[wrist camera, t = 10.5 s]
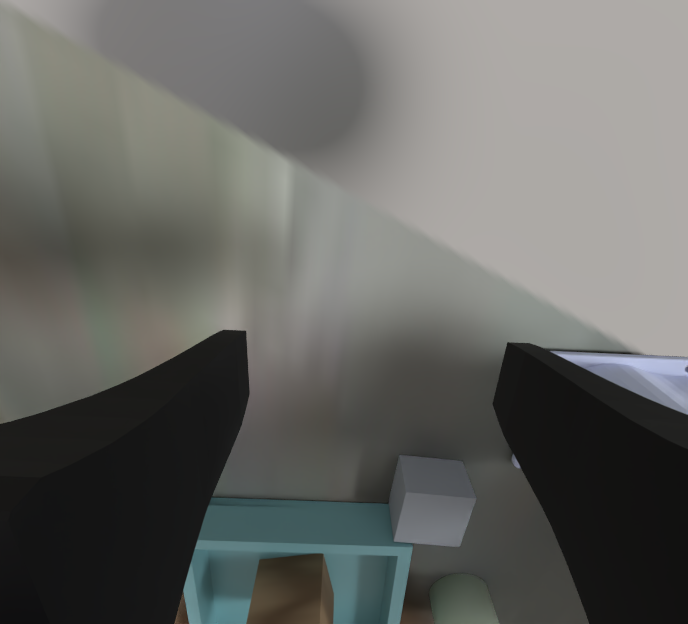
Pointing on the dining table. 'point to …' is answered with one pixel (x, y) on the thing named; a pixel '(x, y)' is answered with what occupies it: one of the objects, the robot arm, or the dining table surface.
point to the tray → (291, 540)
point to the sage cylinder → (461, 601)
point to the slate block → (430, 501)
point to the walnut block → (292, 591)
